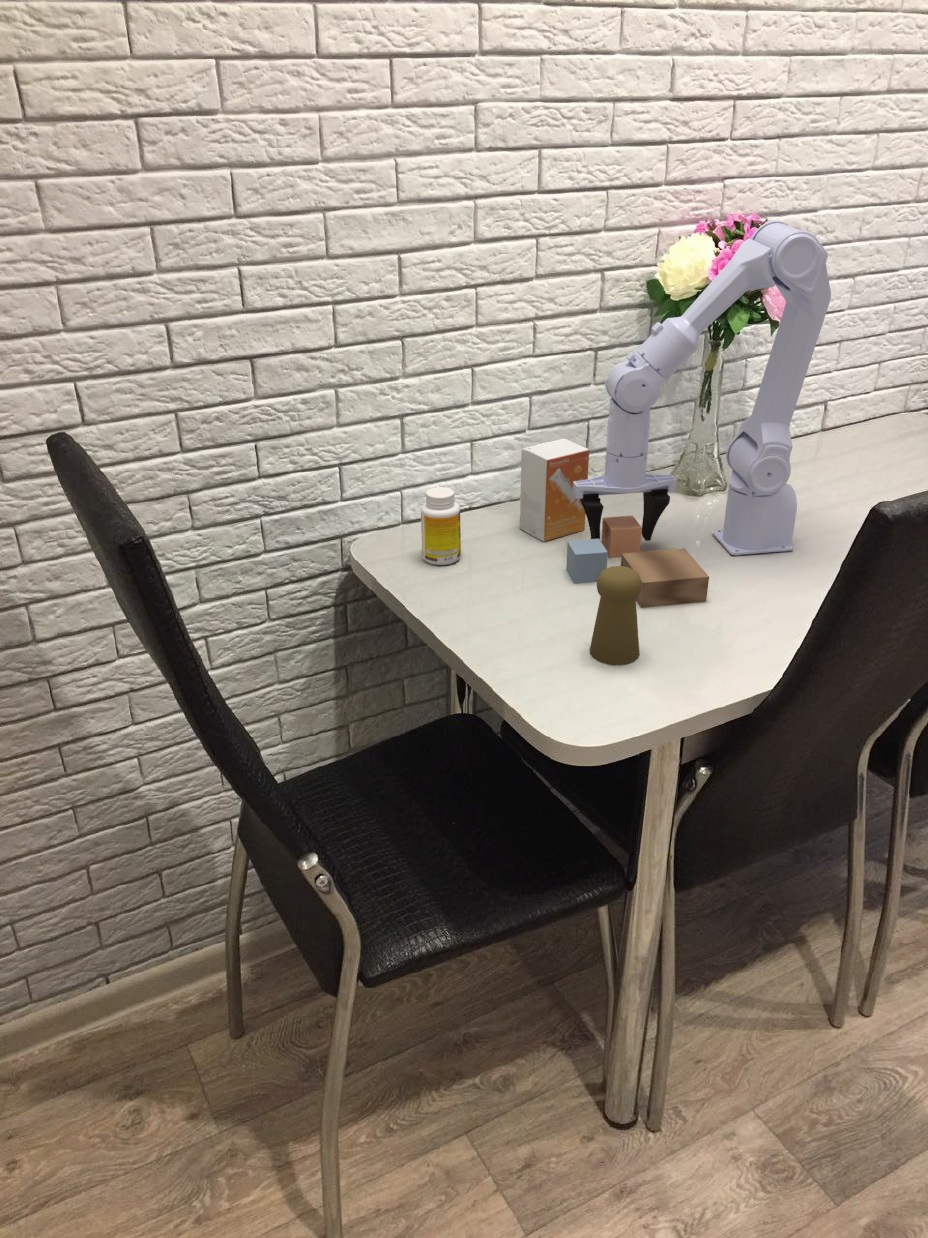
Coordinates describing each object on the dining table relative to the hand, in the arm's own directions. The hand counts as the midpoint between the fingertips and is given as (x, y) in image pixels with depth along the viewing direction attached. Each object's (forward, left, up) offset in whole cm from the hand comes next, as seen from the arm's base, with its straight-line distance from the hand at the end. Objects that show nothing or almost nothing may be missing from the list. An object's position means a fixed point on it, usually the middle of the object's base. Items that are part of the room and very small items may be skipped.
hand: (620, 540), depth 150 cm
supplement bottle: (+26, -2, -2) cm, 26 cm away
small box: (+8, -9, -2) cm, 12 cm away
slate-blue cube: (+7, +7, -2) cm, 10 cm away
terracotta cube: (0, 0, -2) cm, 2 cm away
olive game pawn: (+9, +28, -2) cm, 29 cm away
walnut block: (-2, +13, -2) cm, 13 cm away
